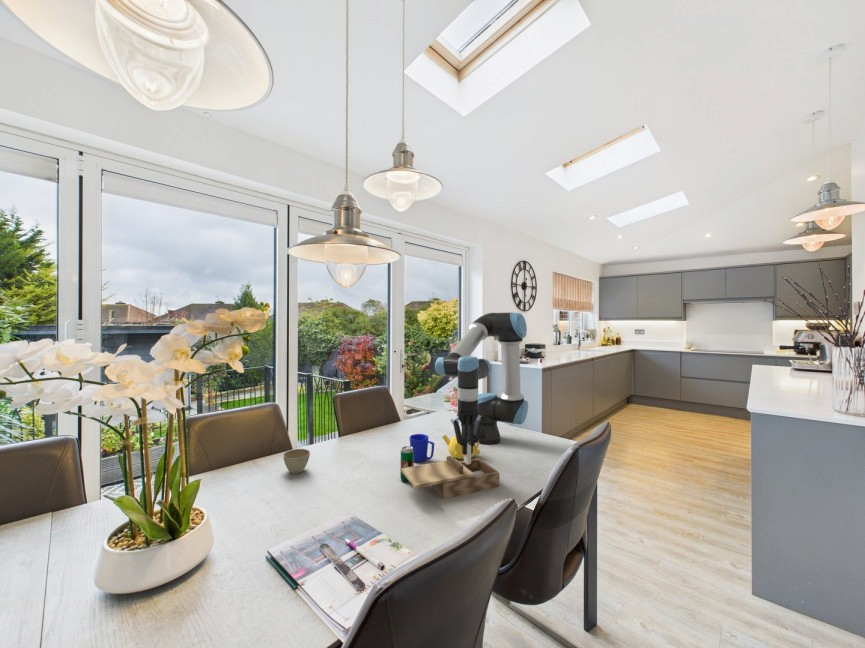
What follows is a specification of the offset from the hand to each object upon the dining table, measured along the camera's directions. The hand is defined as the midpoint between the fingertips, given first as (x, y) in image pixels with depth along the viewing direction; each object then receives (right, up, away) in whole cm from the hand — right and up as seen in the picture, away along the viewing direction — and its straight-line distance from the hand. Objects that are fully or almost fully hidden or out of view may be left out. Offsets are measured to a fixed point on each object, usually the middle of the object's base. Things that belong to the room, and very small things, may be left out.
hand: (467, 462), depth 130 cm
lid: (-11, -2, -5) cm, 13 cm away
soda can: (-23, -8, +4) cm, 24 cm away
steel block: (+4, -8, +2) cm, 9 cm away
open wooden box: (-2, -8, -1) cm, 9 cm away
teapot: (0, -8, +27) cm, 29 cm away
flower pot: (-67, -8, +11) cm, 68 cm away
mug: (-17, -8, +22) cm, 29 cm away
